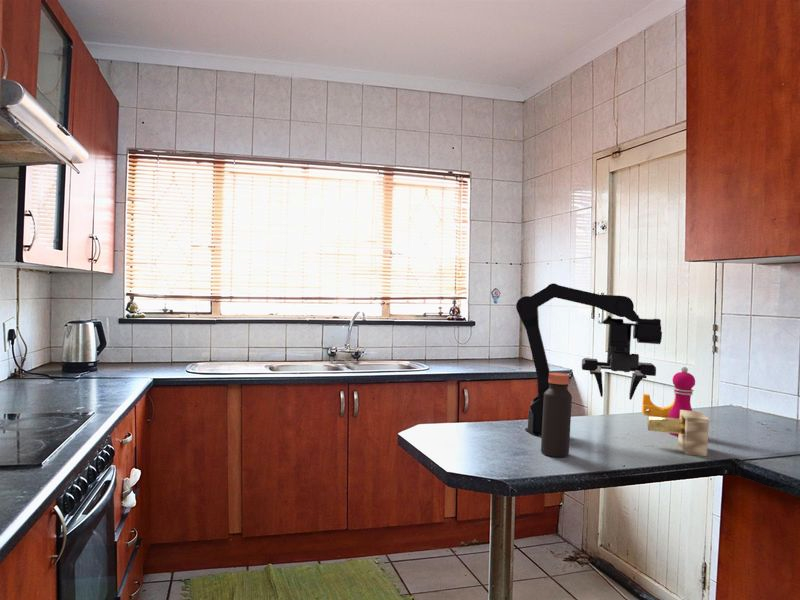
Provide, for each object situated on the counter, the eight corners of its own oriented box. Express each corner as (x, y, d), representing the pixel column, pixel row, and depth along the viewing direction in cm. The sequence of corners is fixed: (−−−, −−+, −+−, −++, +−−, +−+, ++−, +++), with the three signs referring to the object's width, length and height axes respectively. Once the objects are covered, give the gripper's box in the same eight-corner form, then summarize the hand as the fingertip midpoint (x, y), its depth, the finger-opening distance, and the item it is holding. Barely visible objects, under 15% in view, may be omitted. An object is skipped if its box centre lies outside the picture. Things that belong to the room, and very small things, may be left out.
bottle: (538, 449, 147) (542, 371, 147) (564, 450, 147) (569, 372, 146) (543, 457, 140) (548, 375, 140) (571, 458, 140) (576, 377, 140)
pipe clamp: (643, 414, 195) (644, 396, 195) (642, 412, 199) (643, 393, 199) (682, 419, 191) (683, 399, 191) (680, 416, 195) (681, 397, 195)
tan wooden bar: (649, 432, 154) (650, 417, 154) (647, 428, 158) (647, 414, 158) (702, 437, 150) (703, 422, 150) (699, 434, 154) (700, 419, 154)
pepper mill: (697, 435, 170) (701, 367, 169) (689, 439, 164) (694, 369, 164) (671, 429, 174) (675, 364, 174) (663, 433, 169) (667, 366, 169)
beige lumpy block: (685, 453, 149) (687, 417, 149) (678, 443, 158) (680, 409, 158) (706, 456, 147) (709, 419, 147) (697, 446, 157) (700, 411, 157)
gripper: (585, 341, 152) (581, 400, 153) (661, 346, 147) (657, 407, 148) (583, 338, 163) (579, 392, 163) (654, 343, 158) (650, 399, 158)
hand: (615, 398), depth 158 cm, fingers open, 7 cm apart
